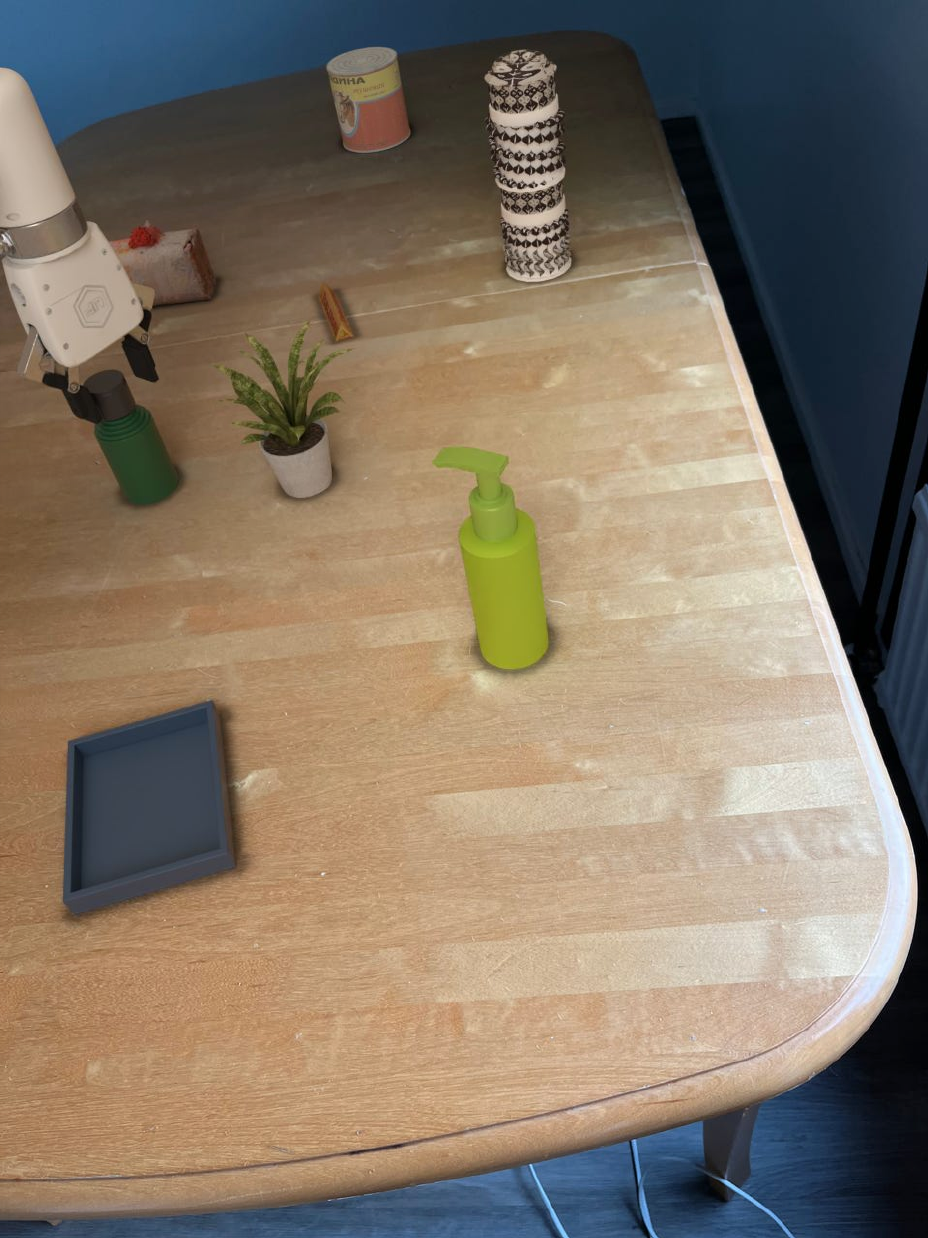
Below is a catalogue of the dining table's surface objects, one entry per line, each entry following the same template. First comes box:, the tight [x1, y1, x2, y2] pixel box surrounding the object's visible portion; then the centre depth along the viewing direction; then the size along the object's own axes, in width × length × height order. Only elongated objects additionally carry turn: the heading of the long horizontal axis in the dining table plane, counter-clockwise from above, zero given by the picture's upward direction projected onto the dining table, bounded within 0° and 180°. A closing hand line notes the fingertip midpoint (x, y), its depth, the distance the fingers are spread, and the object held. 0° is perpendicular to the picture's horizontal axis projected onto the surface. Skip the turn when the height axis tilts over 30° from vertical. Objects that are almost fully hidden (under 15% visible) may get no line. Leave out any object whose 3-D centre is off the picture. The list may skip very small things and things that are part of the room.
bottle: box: [93, 403, 180, 506], centre depth 105 cm, size 6×6×13 cm
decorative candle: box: [484, 49, 572, 283], centre depth 122 cm, size 9×9×25 cm
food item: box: [108, 219, 217, 307], centre depth 137 cm, size 14×8×10 cm, turn 89°
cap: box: [82, 369, 136, 421], centre depth 102 cm, size 4×4×3 cm
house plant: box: [210, 318, 356, 499], centre depth 101 cm, size 14×14×16 cm
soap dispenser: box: [432, 446, 550, 670], centre depth 80 cm, size 6×7×20 cm
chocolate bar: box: [317, 281, 354, 342], centre depth 129 cm, size 3×12×2 cm, turn 16°
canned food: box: [325, 46, 412, 154], centre depth 164 cm, size 11×11×12 cm
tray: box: [62, 699, 237, 916], centre depth 80 cm, size 15×12×2 cm
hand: (119, 397), depth 102 cm, fingers open, 6 cm apart
